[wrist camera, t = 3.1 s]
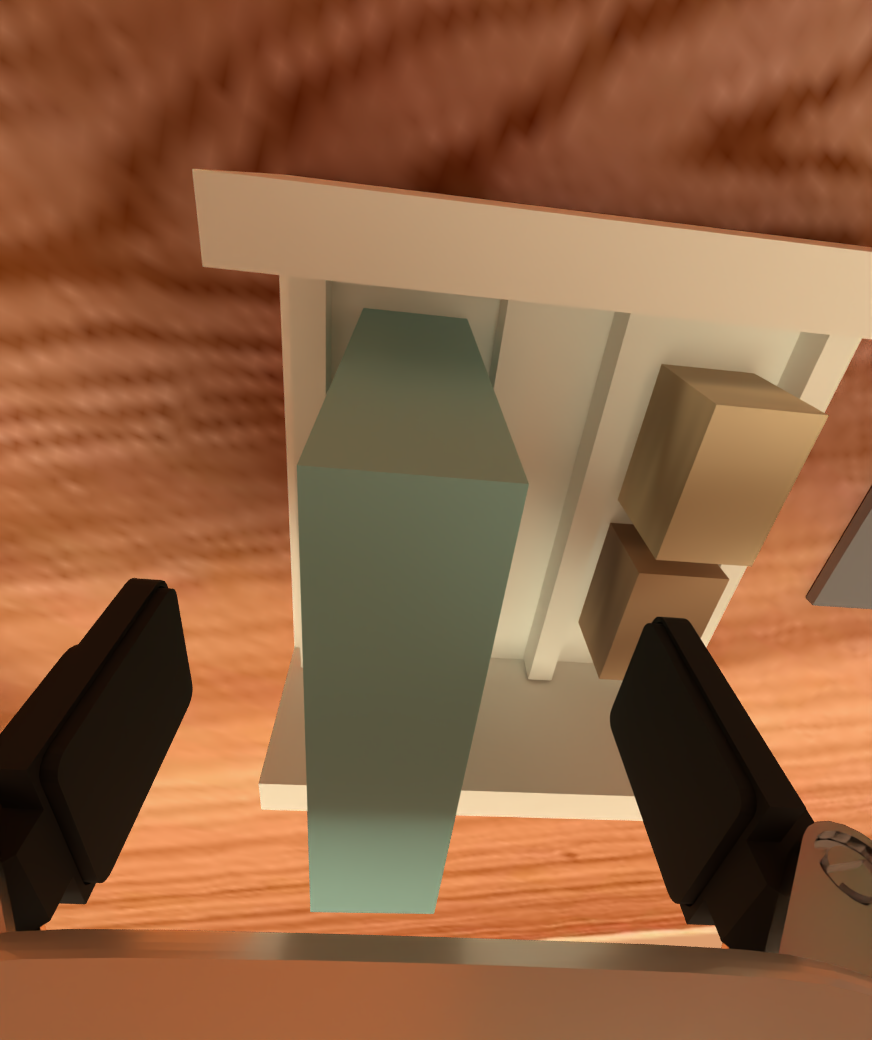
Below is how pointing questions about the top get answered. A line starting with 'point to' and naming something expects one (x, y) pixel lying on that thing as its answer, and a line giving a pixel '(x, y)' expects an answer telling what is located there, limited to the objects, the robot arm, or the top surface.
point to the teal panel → (399, 602)
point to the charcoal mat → (848, 566)
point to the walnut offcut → (641, 597)
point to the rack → (532, 410)
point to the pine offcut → (715, 463)
